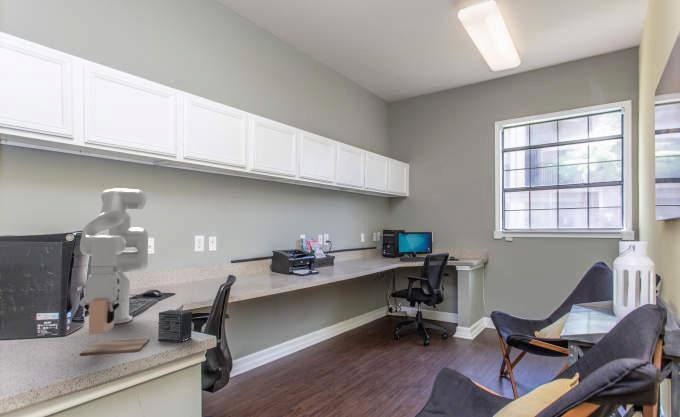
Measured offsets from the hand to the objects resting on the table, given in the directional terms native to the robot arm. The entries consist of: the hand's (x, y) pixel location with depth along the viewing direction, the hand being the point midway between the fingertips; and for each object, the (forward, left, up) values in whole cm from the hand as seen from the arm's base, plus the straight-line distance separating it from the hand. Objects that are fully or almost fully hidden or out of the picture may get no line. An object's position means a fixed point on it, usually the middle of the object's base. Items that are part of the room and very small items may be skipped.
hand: (101, 322), depth 128 cm
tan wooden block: (0, 0, -3) cm, 3 cm away
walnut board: (0, +5, -9) cm, 10 cm away
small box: (-6, +23, -9) cm, 26 cm away
